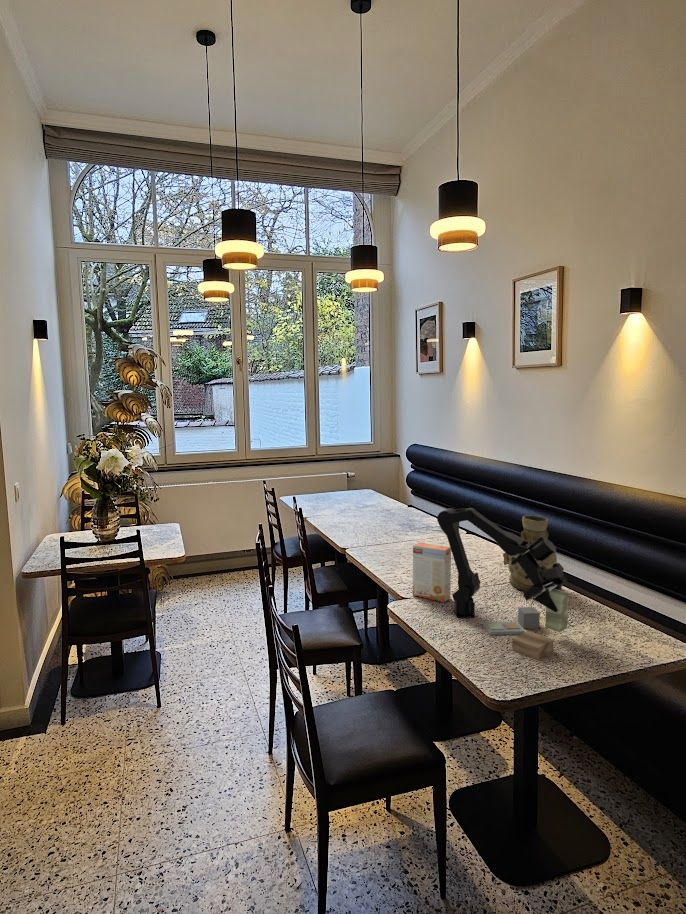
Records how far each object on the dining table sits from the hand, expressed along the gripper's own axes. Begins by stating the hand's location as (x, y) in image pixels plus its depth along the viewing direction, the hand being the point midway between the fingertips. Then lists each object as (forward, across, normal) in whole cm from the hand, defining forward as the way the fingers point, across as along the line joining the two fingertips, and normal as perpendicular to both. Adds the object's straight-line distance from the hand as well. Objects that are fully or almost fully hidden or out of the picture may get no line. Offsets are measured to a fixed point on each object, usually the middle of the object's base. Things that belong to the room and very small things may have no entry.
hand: (561, 609), depth 191 cm
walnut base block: (+6, -14, +9) cm, 17 cm away
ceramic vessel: (-16, +36, +31) cm, 50 cm away
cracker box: (-30, -2, +45) cm, 54 cm away
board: (-5, -7, +19) cm, 21 cm away
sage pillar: (+4, 0, +6) cm, 7 cm away
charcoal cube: (-2, +3, +17) cm, 17 cm away
